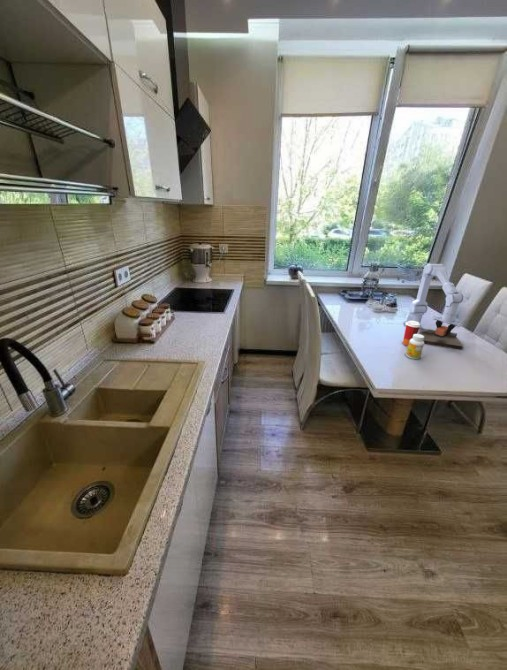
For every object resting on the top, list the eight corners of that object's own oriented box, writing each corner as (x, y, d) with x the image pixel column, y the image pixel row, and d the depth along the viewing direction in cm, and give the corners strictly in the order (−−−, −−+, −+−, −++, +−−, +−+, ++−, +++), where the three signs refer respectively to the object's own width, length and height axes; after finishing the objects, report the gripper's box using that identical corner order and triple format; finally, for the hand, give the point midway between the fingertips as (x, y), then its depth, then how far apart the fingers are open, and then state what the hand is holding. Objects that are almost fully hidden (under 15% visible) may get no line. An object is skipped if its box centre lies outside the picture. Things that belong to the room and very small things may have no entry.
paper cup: (413, 342, 169) (419, 321, 163) (416, 347, 162) (422, 326, 156) (399, 340, 171) (405, 319, 165) (401, 345, 164) (407, 324, 159)
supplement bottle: (403, 353, 156) (409, 332, 151) (415, 353, 156) (421, 333, 151) (409, 359, 150) (415, 338, 144) (422, 359, 149) (428, 338, 144)
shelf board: (423, 343, 168) (425, 337, 166) (419, 333, 181) (421, 327, 180) (461, 349, 161) (464, 343, 160) (454, 338, 175) (456, 333, 173)
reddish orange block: (441, 338, 164) (444, 331, 162) (433, 335, 167) (436, 328, 165) (450, 334, 169) (452, 327, 167) (442, 331, 173) (444, 324, 171)
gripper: (466, 315, 159) (458, 336, 165) (439, 308, 170) (432, 328, 175) (461, 317, 155) (453, 339, 161) (434, 310, 166) (427, 331, 172)
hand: (442, 334), depth 168 cm, fingers closed on reddish orange block, 4 cm apart
